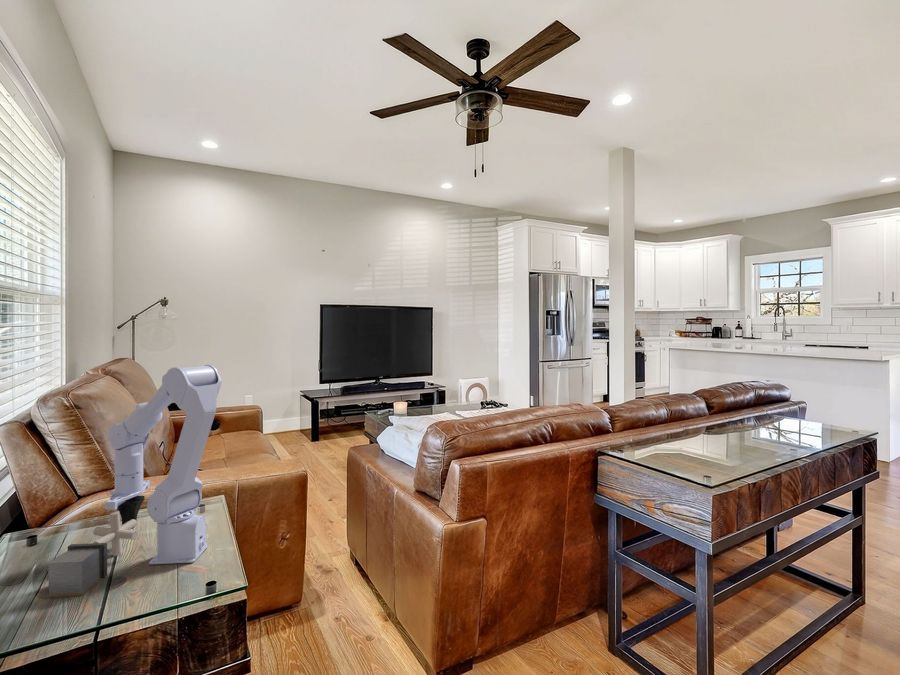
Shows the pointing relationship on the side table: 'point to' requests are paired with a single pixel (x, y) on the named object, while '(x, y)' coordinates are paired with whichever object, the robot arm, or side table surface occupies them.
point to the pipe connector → (116, 532)
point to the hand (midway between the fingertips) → (129, 528)
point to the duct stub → (77, 569)
